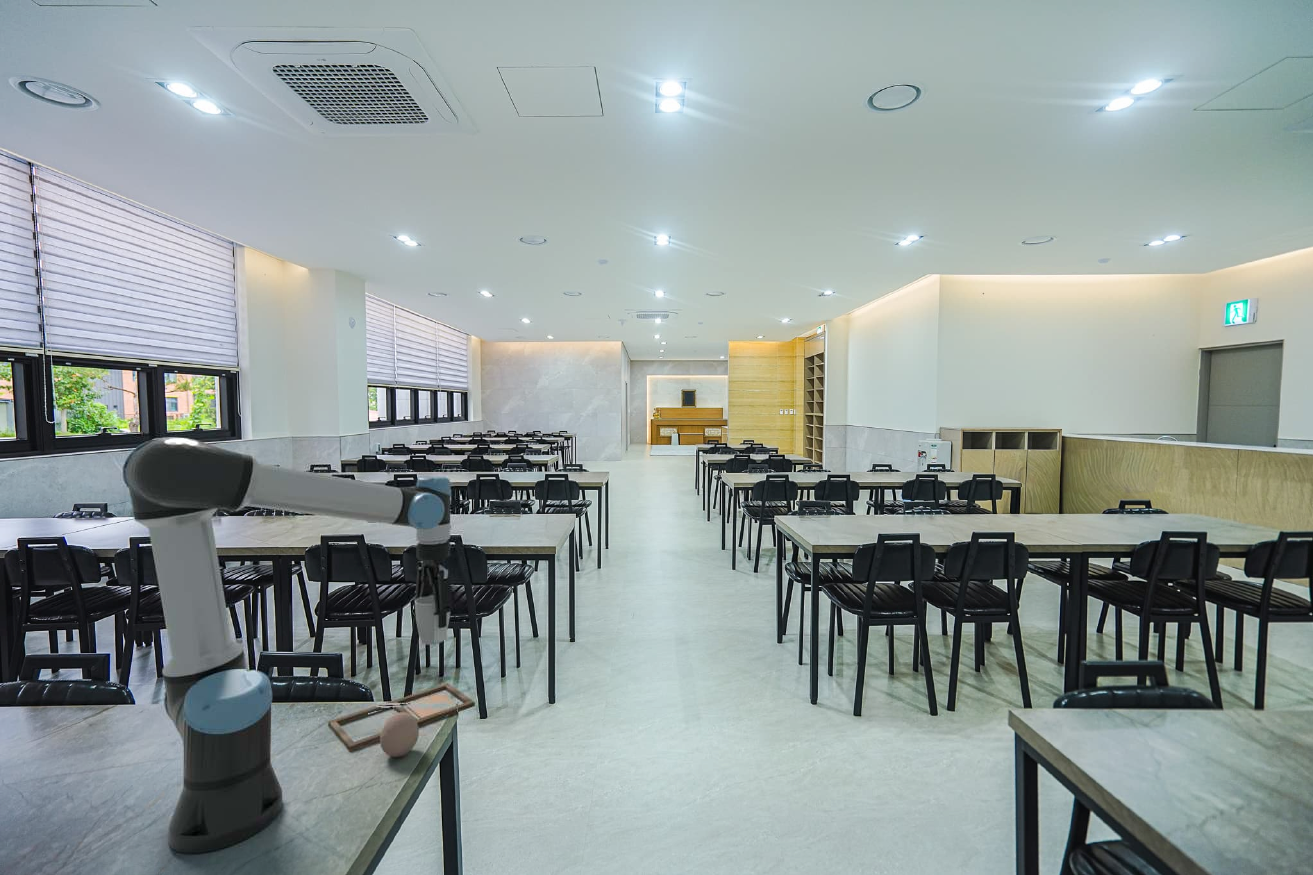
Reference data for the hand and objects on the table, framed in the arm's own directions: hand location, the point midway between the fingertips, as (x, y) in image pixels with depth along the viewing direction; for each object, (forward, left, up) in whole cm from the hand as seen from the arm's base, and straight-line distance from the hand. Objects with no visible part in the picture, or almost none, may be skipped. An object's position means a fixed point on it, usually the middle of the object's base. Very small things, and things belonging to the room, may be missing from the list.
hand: (432, 635), depth 134 cm
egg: (-16, +14, -17) cm, 27 cm away
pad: (0, 0, -17) cm, 17 cm away
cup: (0, 0, -1) cm, 1 cm away
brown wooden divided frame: (0, +7, -17) cm, 18 cm away
